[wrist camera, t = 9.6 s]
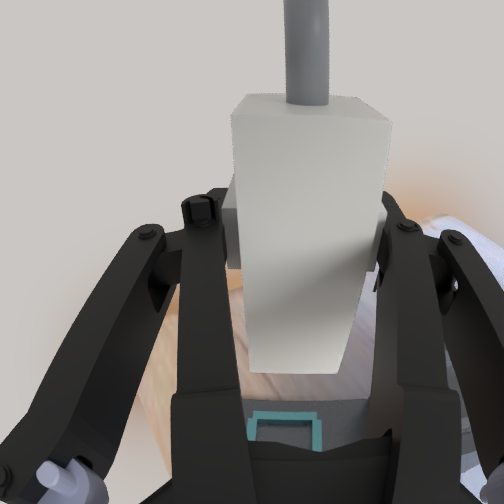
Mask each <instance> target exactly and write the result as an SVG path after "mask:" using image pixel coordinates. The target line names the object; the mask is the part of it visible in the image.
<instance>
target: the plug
mask: <svg viewBox="0 0 504 504" xmlns="http://www.w3.org/2000/svg"><path fill="white" fill-rule="evenodd" d="M284 26H285V59H286V62H285V63H286V94H247V95H246V96H245V98H244V99H243V100H242V101H241V103H240V104H239V105H238V106H237V108H236V109H235V110H234V112H233V113H232V114H231V127H232V143H233V158H234V173H235V188H236V202H237V216H238V230H239V243H240V256H241V270H242V282H243V295H244V308H245V320H246V332H247V344H248V356H249V368H250V372H256V373H284V374H336V373H338V370H339V367H340V364H341V361H342V357H343V354H344V351H345V348H346V345H347V342H348V338H349V335H350V332H351V328H352V325H353V321H354V318H355V314H356V311H357V307H358V303H359V300H360V296H361V292H362V288H363V284H364V280H365V276H366V272H367V268H368V264H369V259H370V255H371V250H372V246H373V241H374V236H375V231H376V226H377V221H378V216H379V211H380V205H381V199H382V194H383V187H384V181H385V175H386V168H387V160H388V153H389V145H390V137H391V127H392V121H390V120H389V119H388V118H386V117H385V116H383V115H382V114H381V113H379V112H378V111H376V110H375V109H373V108H372V107H370V106H369V105H368V104H366V103H364V102H363V101H362V100H360V99H359V98H356V97H345V96H332V95H329V8H328V0H284Z"/></svg>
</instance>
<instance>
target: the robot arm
mask: <svg viewBox="0 0 504 504" xmlns="http://www.w3.org/2000/svg"><path fill="white" fill-rule="evenodd" d="M181 207H182V214H183V219H184V229H182V230H179V231H174V232H169V233H165V232H164V229H163V227H162V226H160V225H158V224H145V225H142V226H140V227H138V228H137V229H135V230H134V231H133V232H132V233H131V234H130V236H129V237H128V238H127V240H126V241H125V243H124V244H123V246H122V247H121V248H120V250H119V251H118V253H117V254H116V256H115V257H114V259H113V260H112V262H111V263H110V265H109V266H108V268H107V270H106V271H105V273H104V274H103V275H102V277H101V279H100V280H99V282H98V283H97V285H96V287H95V288H94V290H93V291H92V293H91V294H90V296H89V298H88V299H87V301H86V302H85V304H84V306H83V307H82V309H81V311H80V312H79V314H78V316H77V318H76V319H75V321H74V323H73V324H72V326H71V328H70V330H69V331H68V333H67V335H66V337H65V338H64V340H63V342H62V344H61V346H60V348H59V349H58V351H57V353H56V355H55V357H54V359H53V361H52V363H51V365H50V366H49V368H48V371H47V372H46V374H45V376H44V378H43V380H42V382H41V384H40V386H39V388H38V391H37V393H36V395H35V397H34V399H33V401H32V403H31V406H30V408H29V410H28V412H27V413H26V415H25V416H24V417H23V418H22V419H21V420H20V422H19V423H18V424H17V425H16V426H15V428H14V429H13V430H12V431H11V432H10V434H9V435H8V436H7V437H6V438H5V440H4V441H3V442H2V443H1V444H0V501H3V502H5V503H7V504H108V503H109V496H108V491H107V487H106V485H105V483H104V481H103V480H104V479H105V477H106V476H107V474H108V472H109V470H110V468H111V466H112V464H113V462H114V459H115V456H116V453H117V451H118V448H119V445H120V442H121V438H122V435H123V432H124V429H125V426H126V423H127V420H128V417H129V414H130V411H131V408H132V405H133V402H134V399H135V396H136V393H137V390H138V387H139V385H140V382H141V379H142V376H143V373H144V371H145V368H146V365H147V362H148V360H149V357H150V354H151V351H152V349H153V346H154V343H155V341H156V338H157V335H158V333H159V330H160V327H161V325H162V322H163V320H164V317H165V315H166V312H167V309H168V307H169V304H170V302H171V299H172V297H173V294H174V292H175V289H176V286H177V284H179V283H180V296H179V317H178V350H177V391H176V393H175V394H173V395H172V398H171V463H172V478H171V479H170V480H169V481H168V482H167V483H165V484H164V485H163V486H162V487H160V488H159V489H158V490H157V491H155V492H154V493H153V494H152V495H150V496H149V497H148V498H146V499H145V500H144V501H143V502H141V503H140V504H482V503H481V502H480V501H479V500H478V499H477V498H476V497H475V496H474V495H473V494H472V493H471V492H470V491H469V490H468V489H467V488H466V487H465V486H464V485H462V484H461V483H460V475H461V453H462V423H461V401H460V396H459V393H458V392H457V391H456V390H451V389H450V388H449V387H448V379H447V366H446V356H445V346H446V349H447V351H448V354H449V357H450V360H451V363H452V366H453V368H454V371H455V375H456V378H457V381H458V384H459V387H460V390H461V394H462V397H463V400H464V404H465V407H466V411H467V415H468V419H469V422H470V426H471V430H472V434H473V439H474V443H475V447H476V451H477V455H478V459H479V462H480V465H481V467H482V470H483V473H484V475H485V477H486V479H487V484H486V485H484V486H483V487H482V489H481V491H480V499H481V501H482V502H484V503H487V502H488V504H504V291H503V290H502V288H501V286H500V285H499V283H498V282H497V280H496V278H495V277H494V275H493V274H492V272H491V271H490V269H489V268H488V266H487V265H486V263H485V262H484V260H483V259H482V258H481V256H480V255H479V253H478V252H477V250H476V249H475V248H474V246H473V245H472V243H471V242H470V241H469V239H468V238H467V237H466V236H465V235H463V234H461V232H459V231H456V230H450V229H448V230H443V231H442V232H441V235H440V238H439V239H438V238H434V237H430V236H427V235H424V234H423V231H422V229H421V227H420V226H419V225H418V224H417V223H416V222H414V221H412V220H409V219H406V218H405V216H404V214H403V213H402V211H401V209H400V208H399V206H398V205H397V203H396V201H395V200H394V198H393V197H392V196H391V195H390V194H388V193H387V192H386V191H383V194H382V199H381V205H380V211H379V216H378V221H377V226H376V231H375V236H374V241H373V246H372V250H371V255H370V259H369V264H368V268H367V271H369V272H374V270H375V266H376V262H378V264H379V267H380V268H379V271H378V275H377V279H376V282H375V286H374V290H373V292H376V289H377V306H376V332H375V349H374V363H373V374H372V385H371V394H370V403H369V411H368V418H367V425H366V429H365V433H364V435H363V438H362V440H359V441H356V442H353V443H350V444H347V445H344V446H341V447H337V448H334V449H330V450H327V451H322V452H318V451H313V450H308V449H304V448H299V447H295V446H291V445H287V444H283V443H279V442H270V441H251V440H248V437H247V431H246V424H245V417H244V411H243V404H242V396H241V389H240V382H239V375H238V367H237V360H236V352H235V344H234V337H233V329H232V321H231V312H230V304H229V296H228V288H227V278H226V270H225V264H226V260H227V266H228V269H241V256H240V243H239V230H238V216H237V202H236V188H235V173H234V174H233V177H232V180H231V183H230V185H229V188H213V189H212V190H210V191H209V192H208V193H207V194H199V195H195V196H191V197H189V198H187V199H185V200H184V201H183V202H182V204H181ZM456 280H457V283H458V289H457V290H456V288H455V286H454V284H455V282H456ZM444 343H445V346H444Z"/></svg>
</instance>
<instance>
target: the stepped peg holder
mask: <svg viewBox="0 0 504 504" xmlns="http://www.w3.org/2000/svg"><path fill="white" fill-rule="evenodd" d="M444 346H445V343H444ZM445 356H446V366H447V379H448V387H449V388H450V389H451V390H456V391H457V392H458V393H459V396H460V401H461V423H462V453H461V473H463V472H466V471H467V470H469V469H471V468H473V467H474V466H476V465H478V464H479V463H480V462H479V459H478V455H477V451H476V447H475V443H474V439H473V434H472V430H471V426H470V422H469V419H468V415H467V411H466V407H465V404H464V400H463V397H462V394H461V390H460V387H459V384H458V381H457V378H456V375H455V371H454V368H453V366H452V363H451V360H450V357H449V354H448V351H447V349H446V346H445ZM369 403H370V397H369V398H368V399H357V400H337V401H267V400H247V399H242V404H243V411H244V417H245V424H246V431H247V437H248V440H251V441H270V442H279V443H283V444H287V445H291V446H295V447H299V448H304V449H308V450H313V451H318V452H322V451H327V450H330V449H334V448H337V447H341V446H344V445H347V444H350V443H353V442H356V441H359V440H362V438H363V435H364V433H365V429H366V425H367V418H368V411H369Z"/></svg>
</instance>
